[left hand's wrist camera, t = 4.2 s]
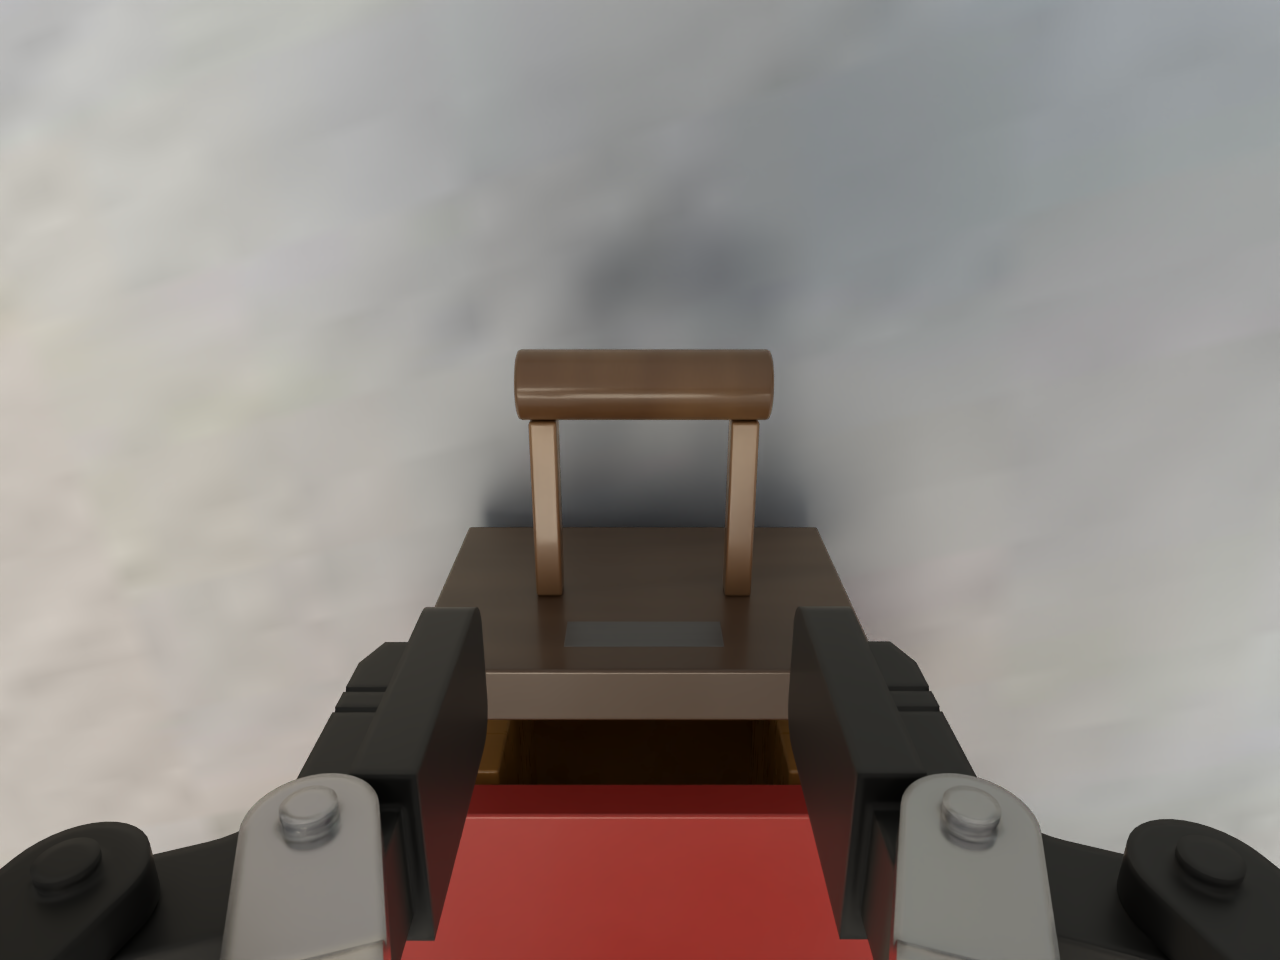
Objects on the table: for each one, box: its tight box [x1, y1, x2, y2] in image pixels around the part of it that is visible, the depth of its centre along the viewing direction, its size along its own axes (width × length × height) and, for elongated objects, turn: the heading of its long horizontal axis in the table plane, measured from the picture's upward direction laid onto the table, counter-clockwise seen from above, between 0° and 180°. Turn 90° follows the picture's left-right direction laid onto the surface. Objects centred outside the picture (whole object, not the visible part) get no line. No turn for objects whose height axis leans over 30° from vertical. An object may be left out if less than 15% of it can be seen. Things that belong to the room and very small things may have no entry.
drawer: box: [435, 349, 868, 785], centre depth 23 cm, size 25×9×7 cm, turn 0°
